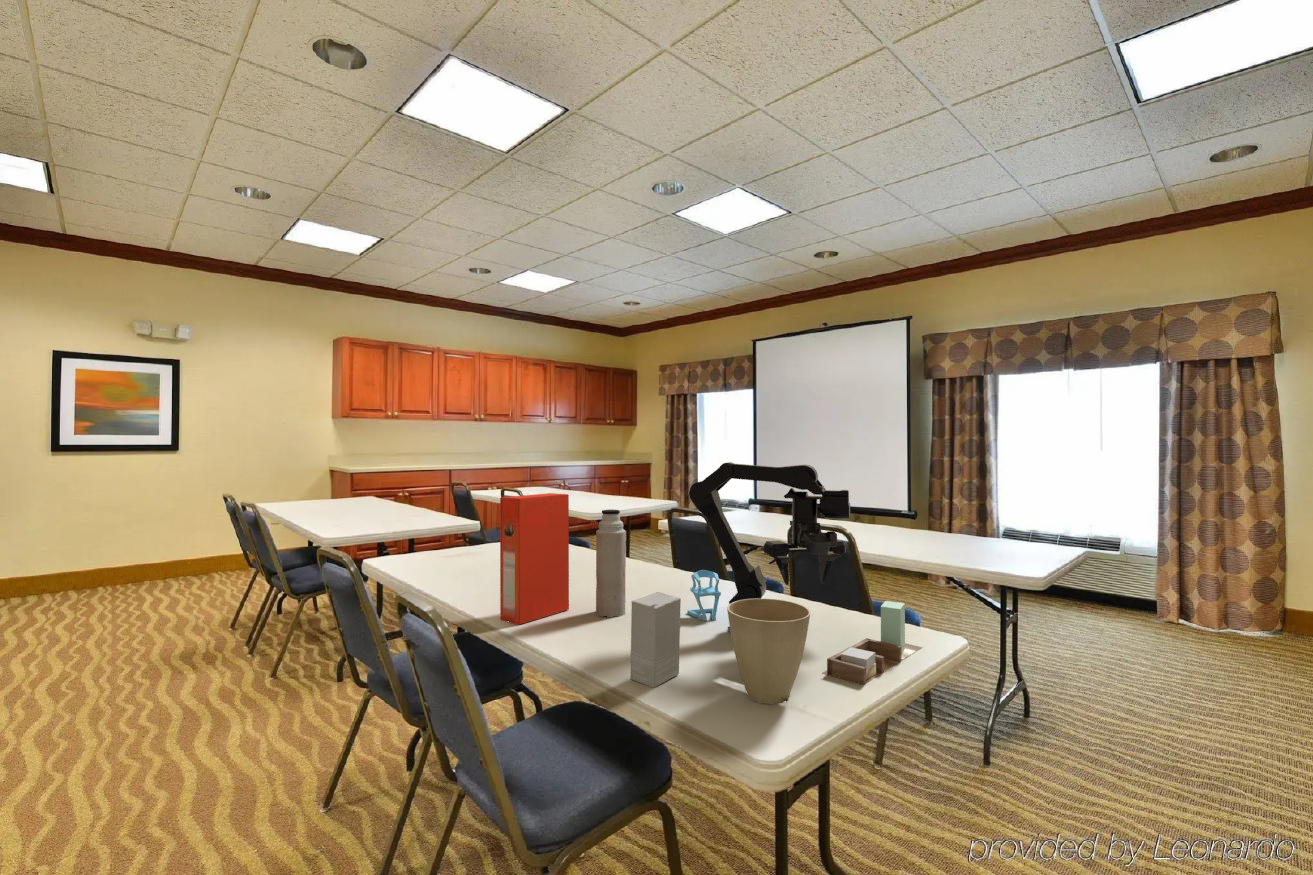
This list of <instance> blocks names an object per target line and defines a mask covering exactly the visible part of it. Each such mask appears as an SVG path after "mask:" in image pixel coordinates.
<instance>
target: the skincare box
mask: <svg viewBox="0 0 1313 875" xmlns="http://www.w3.org/2000/svg"><path fill="white" fill-rule="evenodd" d="M681 604H682V603H681V598H680V597H677V596H673V595H670V594H666V593H663V592H659V591H658V592H653V593H651V594H648V595H646V596H642V597H640V598H636V599H634V600H631V622H630V624H631V625H630V630H631V631H630V676H629V677H630V680H633V681H635V682H638V683H641V684H643V685H645V686H648V685H649V687H652V688H655V687H656V688H657V687H658V686H660V685H661V684H663V683H665V682H667V681H669V680H670V679H672V678H674V677H676V676H678V675H679V674H680V646H681V645H680V644H681V643H680V641H681V639H680V638H681Z"/></svg>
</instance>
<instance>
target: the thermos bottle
mask: <svg viewBox="0 0 1313 875" xmlns="http://www.w3.org/2000/svg"><path fill="white" fill-rule="evenodd" d="M620 512H621V510H619V509H602V510H601V514H602V518H601V521H599V522H598V529H597V530H596V532H595V534H596V536H595V538H596V539H595V540H596V542H595V544H596V546H595V548H596V549H595V551H596V556H595V557H596V558H595V560H596V561H595V564H596V567H595V568H596V569H595V572H596V573H595V578H596V588H595V589H596V590H595V614H596V615H597V616H599V617H603V616H607V617H606V618H614V617H613V616H617V617H621V616H624V615H625V614H626V566H627V564H626V551H627V550H626V545H627V542H626V537H627V536H626V534H627V533H626V530H625V529H624V522H623V521H622V520H621V515H620Z"/></svg>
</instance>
